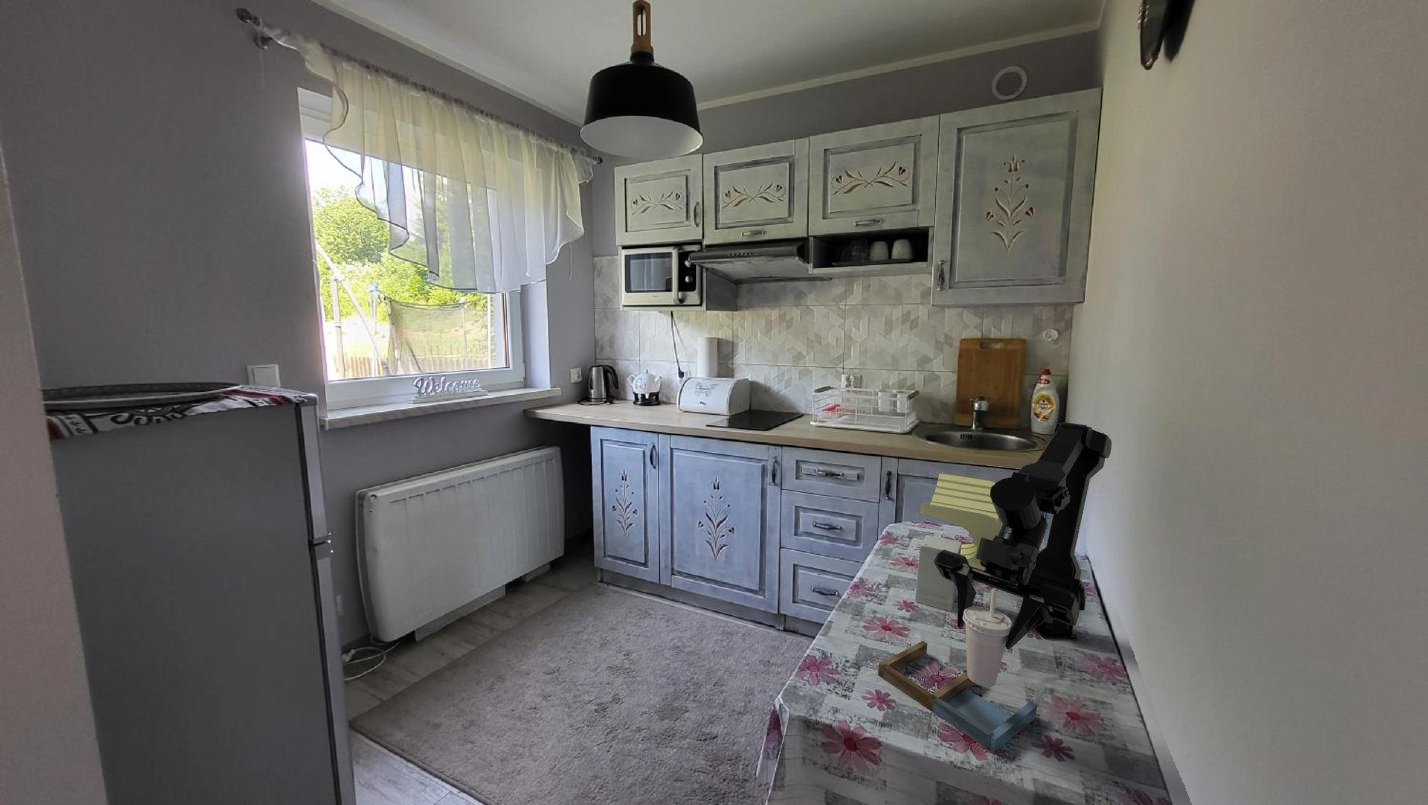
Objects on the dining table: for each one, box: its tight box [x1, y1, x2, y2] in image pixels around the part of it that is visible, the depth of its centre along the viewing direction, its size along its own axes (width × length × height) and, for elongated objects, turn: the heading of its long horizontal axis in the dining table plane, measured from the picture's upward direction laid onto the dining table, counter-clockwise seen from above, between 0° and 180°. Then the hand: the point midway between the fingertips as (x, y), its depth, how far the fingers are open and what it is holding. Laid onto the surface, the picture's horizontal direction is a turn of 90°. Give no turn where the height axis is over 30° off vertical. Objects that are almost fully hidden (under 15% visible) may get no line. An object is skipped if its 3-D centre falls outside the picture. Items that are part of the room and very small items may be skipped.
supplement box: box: [914, 534, 963, 612], centre depth 110 cm, size 7×7×13 cm
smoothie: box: [963, 587, 1014, 688], centre depth 76 cm, size 6×6×14 cm
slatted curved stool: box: [919, 473, 1002, 570], centre depth 129 cm, size 30×16×18 cm, turn 149°
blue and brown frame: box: [877, 640, 1038, 754], centre depth 81 cm, size 12×19×2 cm, turn 35°
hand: (982, 637), depth 75 cm, fingers closed on smoothie, 6 cm apart
